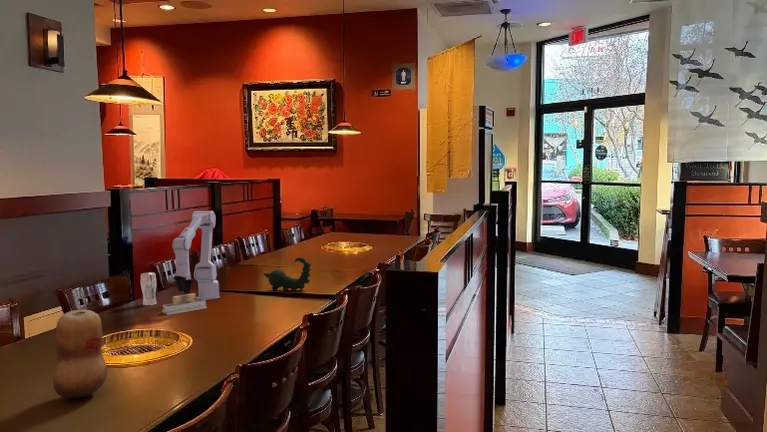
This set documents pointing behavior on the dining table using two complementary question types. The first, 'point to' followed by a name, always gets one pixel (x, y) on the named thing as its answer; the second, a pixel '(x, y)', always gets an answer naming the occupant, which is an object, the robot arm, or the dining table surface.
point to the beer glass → (148, 288)
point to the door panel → (184, 299)
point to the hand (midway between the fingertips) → (184, 292)
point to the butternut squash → (79, 354)
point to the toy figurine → (289, 278)
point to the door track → (184, 307)
